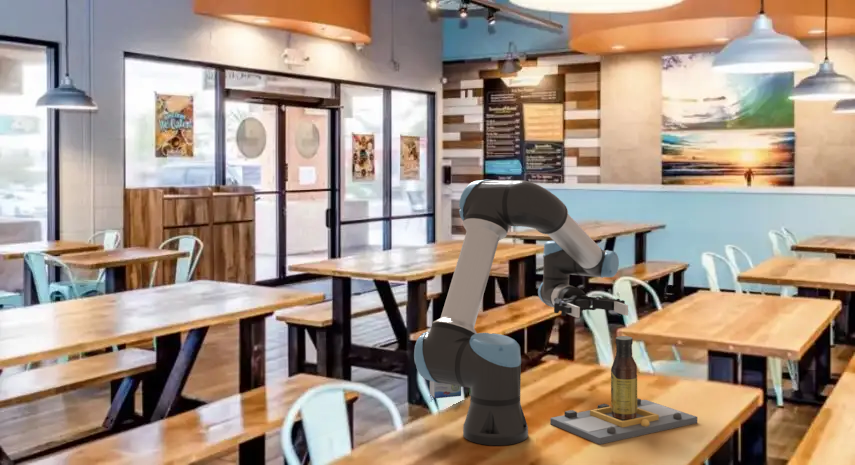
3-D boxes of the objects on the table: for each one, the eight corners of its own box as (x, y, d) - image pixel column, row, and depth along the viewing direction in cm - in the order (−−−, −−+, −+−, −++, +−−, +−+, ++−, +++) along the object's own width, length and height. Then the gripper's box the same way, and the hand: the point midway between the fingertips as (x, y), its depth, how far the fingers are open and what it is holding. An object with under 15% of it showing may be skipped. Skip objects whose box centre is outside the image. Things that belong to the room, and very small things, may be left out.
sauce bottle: (618, 412, 220) (619, 333, 218) (641, 416, 216) (642, 336, 214) (605, 418, 215) (606, 337, 213) (629, 422, 211) (630, 340, 209)
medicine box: (433, 398, 239) (433, 367, 238) (429, 394, 243) (429, 363, 243) (461, 396, 241) (461, 365, 240) (456, 392, 245) (456, 361, 245)
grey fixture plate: (599, 444, 200) (599, 431, 200) (550, 423, 216) (550, 412, 216) (697, 422, 216) (697, 411, 215) (644, 405, 231) (645, 394, 231)
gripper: (609, 310, 252) (646, 323, 231) (527, 314, 245) (557, 327, 225) (610, 284, 251) (646, 295, 231) (527, 287, 245) (557, 298, 224)
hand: (602, 311), depth 228 cm, fingers open, 13 cm apart
